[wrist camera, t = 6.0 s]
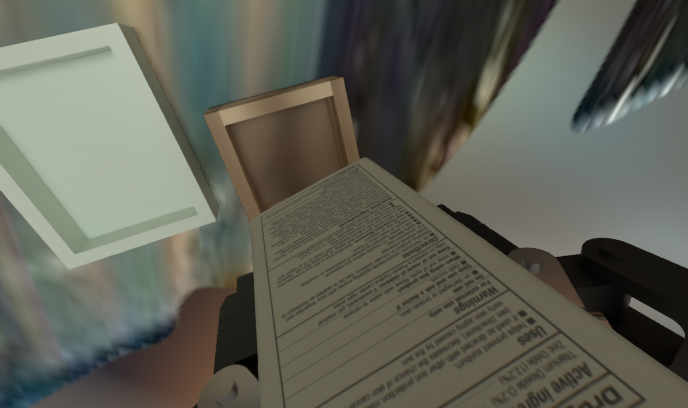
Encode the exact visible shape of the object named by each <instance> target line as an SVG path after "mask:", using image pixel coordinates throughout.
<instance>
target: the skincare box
mask: <svg viewBox="0 0 688 408" xmlns="http://www.w3.org/2000/svg"><path fill="white" fill-rule="evenodd" d="M251 240H252V257H253V273H254V294H255V314H256V333H257V350H258V374H259V392H260V408H688V382H686V381H685V380H683V379H682V378H681V377H679V376H678V375H676V374H675V373H673V372H672V371H670V370H669V369H668V368H666V367H665V366H663V365H662V364H660V363H659V362H657V361H656V360H655V359H653V358H652V357H650V356H649V355H648V354H646V353H645V352H643V351H642V350H641V349H639V348H638V347H636V346H635V345H633V344H632V343H631V342H629V341H628V340H626V339H625V338H624V337H622V336H621V335H619V334H618V333H616V332H615V331H614V330H612V329H611V328H609V327H608V326H607V325H605V324H604V323H602V322H601V321H599V320H598V319H596V318H595V317H593V316H592V315H591V314H589V313H588V312H586V311H585V310H583V309H582V308H580V307H579V306H578V305H576V304H575V303H573V302H572V301H570V300H569V299H567V298H566V297H565V296H563V295H562V294H560V293H559V292H557V291H556V290H554V289H553V288H552V287H550V286H549V285H547V284H546V283H545V282H543V281H542V280H540V279H539V278H538V277H536V276H535V275H533V274H532V273H531V272H529V271H528V270H526V269H525V268H524V267H522V266H521V265H519V264H518V263H516V262H515V261H513V260H512V259H510V258H509V257H508V256H506V255H505V254H503V253H502V252H501V251H499V250H498V249H496V248H495V247H494V246H492V245H491V244H490V243H488V242H487V241H486V240H484V239H483V238H481V237H480V236H478V235H477V234H475V233H474V232H472V231H471V230H470V229H468V228H467V227H465V226H464V225H463V224H461V223H460V222H458V221H457V220H455V219H454V218H452V217H451V216H450V215H448V214H447V213H445V212H444V211H443V210H441V209H440V208H438V207H437V206H436V205H434V204H433V203H431V202H430V201H428V200H426V199H425V198H424V197H422V196H421V195H420V194H418V193H417V192H415V191H414V190H413V189H411V188H410V187H409V186H407V185H406V184H404V183H403V182H401V181H400V180H399V179H397V178H396V177H394V176H393V175H391V174H390V173H388V172H387V171H386V170H384V169H383V168H381V167H380V166H378V165H377V164H376V163H374V162H373V161H371V160H370V159H368V158H362V159H360V160H358V161H356V162H354V163H352V164H350V165H348V166H346V167H344V168H342V169H340V170H338V171H337V172H335V173H333V174H331V175H329V176H327V177H325V178H324V179H322V180H320V181H318V182H316V183H315V184H313V185H311V186H309V187H307V188H305V189H304V190H302V191H300V192H298V193H296V194H294V195H292V196H291V197H289V198H287V199H285V200H283V201H282V202H280V203H278V204H276V205H275V206H273V207H271V208H270V209H268V210H266V211H264V212H263V213H261V214H259V215H258V216H256V217H254V218H253V219H252V220H251Z"/></svg>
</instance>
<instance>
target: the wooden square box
mask: <svg viewBox="0 0 688 408" xmlns="http://www.w3.org/2000/svg"><path fill="white" fill-rule="evenodd" d="M204 118H205V120H206V122H207V125H208V127H209V129H210V131H211V134H212V136H213V138H214V141H215V143H216V145H217V148H218V150H219V152H220V154H221V157H222V159H223V161H224V164H225V166H226V168H227V170H228V173H229V175H230V177H231V180H232V182H233V184H234V186H235V189H236V191H237V193H238V196H239V198H240V200H241V203H242V205H243V207H244V209H245V212H246V214H247V216H248V219H249V221H250V223H251V220H252V219H253V218H254V217H256V216H258V215H259V214H261V213H263V212H264V211H266V210H268V209H270V208H271V207H273V206H275V205H276V204H278V203H280V202H282V201H283V200H285V199H287V198H289V197H291V196H292V195H294V194H296V193H298V192H300V191H302V190H304V189H305V188H307V187H309V186H311V185H313V184H315V183H316V182H318V181H320V180H322V179H324V178H325V177H327V176H329V175H331V174H333V173H335V172H337V171H338V170H340V169H342V168H344V167H346V166H348V165H350V164H352V163H354V162H356V161H358V160H360V159H359V154H358V149H357V144H356V139H355V134H354V129H353V124H352V119H351V114H350V109H349V104H348V99H347V95H346V90H345V85H344V80H343V77H336V76H327V77H324V78H320V79H316V80H313V81H309V82H305V83H301V84H298V85H294V86H290V87H286V88H283V89H279V90H275V91H271V92H268V93H264V94H260V95H257V96H253V97H249V98H245V99H242V100H238V101H234V102H230V103H227V104H223V105H219V106H215V107H212V108H209V109H208V110H207V111H206V113H205V114H204Z"/></svg>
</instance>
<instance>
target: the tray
mask: <svg viewBox="0 0 688 408" xmlns="http://www.w3.org/2000/svg"><path fill="white" fill-rule="evenodd" d="M0 190H1V191H2V192H3V194H4V195H5V196H6V197H7V198H8V199H9V201H10V202H11V203H12V204H13V205H14V206H15V208H16V209H17V210H18V211H19V212H20V213H21V214H22V216H23V217H24V218H25V219H26V220H27V221H28V223H29V224H30V225H31V226H32V227H33V228H34V230H35V231H36V232H37V233H38V234H39V235H40V237H41V238H42V239H43V240H44V241H45V242H46V244H47V245H48V246H49V247H50V248H51V249H52V251H53V252H54V253H55V254H56V255H57V256H58V258H59V259H60V260H61V261H62V262H63V263H64V265H65V266H66V267H67V268H68V269H72V268H75V267H78V266H81V265H84V264H87V263H90V262H94V261H97V260H100V259H103V258H106V257H109V256H112V255H115V254H118V253H121V252H124V251H127V250H130V249H133V248H136V247H139V246H142V245H145V244H148V243H151V242H154V241H157V240H160V239H163V238H167V237H170V236H173V235H176V234H179V233H182V232H185V231H188V230H191V229H194V228H197V227H200V226H203V225H206V224H209V223H212V222H215V221H217V215H218V209H219V206H218V204H217V202H216V199H215V197H214V195H213V193H212V191H211V189H210V187H209V185H208V183H207V181H206V179H205V177H204V175H203V172H202V170H201V168H200V166H199V164H198V162H197V160H196V158H195V156H194V154H193V152H192V150H191V148H190V145H189V143H188V141H187V139H186V137H185V135H184V133H183V131H182V129H181V127H180V125H179V123H178V120H177V118H176V116H175V114H174V112H173V110H172V108H171V106H170V104H169V102H168V100H167V98H166V96H165V93H164V91H163V89H162V87H161V85H160V83H159V81H158V79H157V77H156V75H155V73H154V71H153V69H152V66H151V64H150V62H149V60H148V58H147V56H146V54H145V52H144V50H143V48H142V46H141V44H140V42H139V39H138V37H137V35H136V33H135V31H134V29H133V28H132V27H129V26H126V25H123V24H120V23H114V24H109V25H105V26H100V27H95V28H90V29H86V30H81V31H76V32H72V33H67V34H62V35H57V36H53V37H48V38H43V39H39V40H34V41H29V42H25V43H20V44H15V45H10V46H6V47H1V48H0Z"/></svg>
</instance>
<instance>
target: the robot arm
mask: <svg viewBox="0 0 688 408" xmlns="http://www.w3.org/2000/svg"><path fill="white" fill-rule="evenodd" d="M437 207H438V208H440V209H441V210H443V211H444V212H445V213H447V214H448V215H450V216H451V217H452V218H454V219H455V220H457V221H458V222H460V223H461V224H463V225H464V226H465V227H467V228H468V229H470V230H471V231H472V232H474V233H475V234H477V235H478V236H480V237H481V238H483V239H484V240H486V241H487V242H488V243H490V244H491V245H492V246H494V247H495V248H496V249H498V250H499V251H501V252H502V253H503V254H505V255H506V256H508V257H509V258H510V259H512V260H513V261H515V262H516V263H518V264H519V265H521V266H522V267H524V268H525V269H526V270H528V271H529V272H531V273H532V274H533V275H535V276H536V277H538V278H539V279H540V280H542V281H543V282H545V283H546V284H547V285H549V286H550V287H552V288H553V289H554V290H556V291H557V292H559V293H560V294H562V295H563V296H565V297H566V298H567V299H569V300H570V301H572V302H573V303H575V304H576V305H578V306H579V307H580V308H582V309H583V310H585V311H586V312H588V313H589V314H591V315H592V316H593V317H595V318H596V319H598V320H599V321H601V322H602V323H604V324H605V325H607V326H608V327H609V328H611V329H612V330H614V331H615V332H616V333H618V334H619V335H621V336H622V337H624V338H625V339H626V340H628V341H629V342H631V343H632V344H633V345H635V346H636V347H638V348H639V349H641V350H642V351H643V352H645V353H646V354H648V355H649V356H650V357H652V358H653V359H655V360H656V361H657V362H659V363H660V364H662V365H663V366H665V367H666V368H668V369H669V370H670V371H672V372H673V373H675V374H676V375H678V376H679V377H681V378H682V379H683V380H685V381H686V382H688V269H687V268H685V267H682V266H680V265H678V264H675V263H673V262H671V261H668V260H666V259H664V258H661V257H659V256H657V255H654V254H652V253H650V252H647V251H645V250H642V249H640V248H638V247H636V246H633V245H631V244H629V243H626V242H623V241H620V240H616V239H610V238H595V239H590V240H588V241H586V242H585V243H584V244H583V246H582V250H581V254H576V255H568V256H561V257H554V256H553V255H552V254H550V253H548V252H546V251H544V250H540V249H536V248H518V247H517V246H516V245H514V244H513V243H511V242H509V241H508V240H507V239H505V238H504V237H502V236H501V235H499V234H498V233H496V232H495V231H493V230H492V229H489V227H487V226H486V225H484V224H483V223H482V224H481V222H480V221H478V220H477V219H476V218H474V217H473V216H471V215H468V214H465V213H461V212H459V211H458V212H455V213H454V212H453V211H451V210H450V209H449V208H447V207H446V206H444V205H442V204H440V205H438V206H437ZM631 297H633V298H635V299H637V300H638V301H640V302H642V303H644V304H646V305H648V306H649V307H651V308H653V309H655V310H657V311H658V312H660V313H662V314H664V315H666V316H668V317H669V318H671V319H673V320H674V321H675V322H677V323H678V324H679V325H680V326H681V327H682V329H683V331H684V333H685V338H683V337H681V336H680V335H678V334H676V333H674V332H673V331H671V330H669V329H668V328H666V327H664V326H662V325H661V324H659V323H657V322H656V321H654V320H652V319H650V318H649V317H647V316H645V315H643V314H642V313H640V312H638V311H637V310H635V309H633V308H631V307H630V306H629V303H630V300H631ZM193 408H260V392H259V374H258V350H257V333H256V314H255V294H254V273H253V272H251V273H248V274H245V275H242V276H240V277H238V278H237V293H234V294H231V295H228V296H227V297H226V299H225V300H224V302H223V304H222V306H221V308H220V313H219V324H218V334H217V344H216V354H215V364H214V374H213V376H212V377H211V378H210V379H209V380H208V382H207V383H206V384H205V385H204V387H203V389H202V391H201V393H200V395H199V398H198V403H197V404H196V405H195V406H194V407H193Z"/></svg>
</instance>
